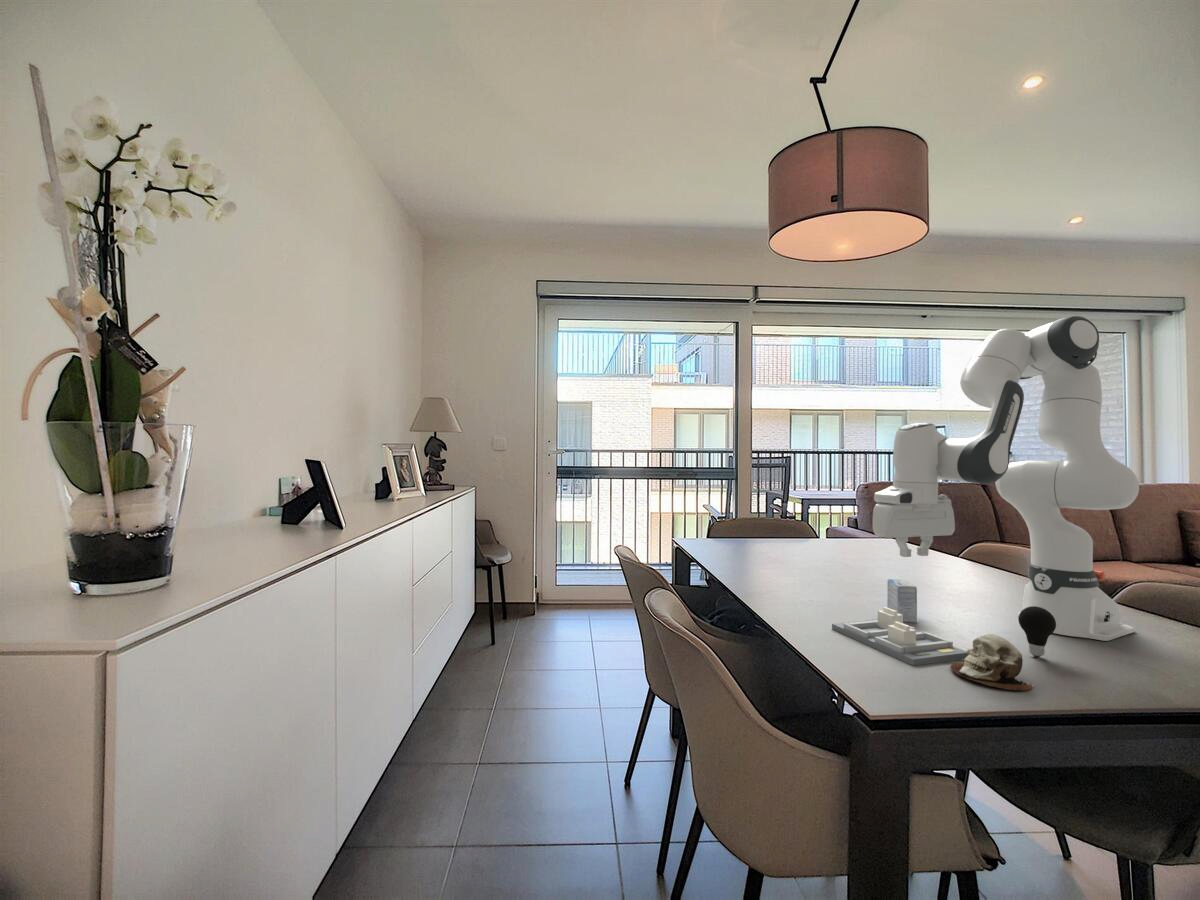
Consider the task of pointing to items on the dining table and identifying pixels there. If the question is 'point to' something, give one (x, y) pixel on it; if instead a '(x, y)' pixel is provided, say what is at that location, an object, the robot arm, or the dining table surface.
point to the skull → (993, 663)
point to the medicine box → (903, 599)
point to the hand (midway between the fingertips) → (914, 556)
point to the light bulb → (1037, 628)
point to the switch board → (915, 654)
